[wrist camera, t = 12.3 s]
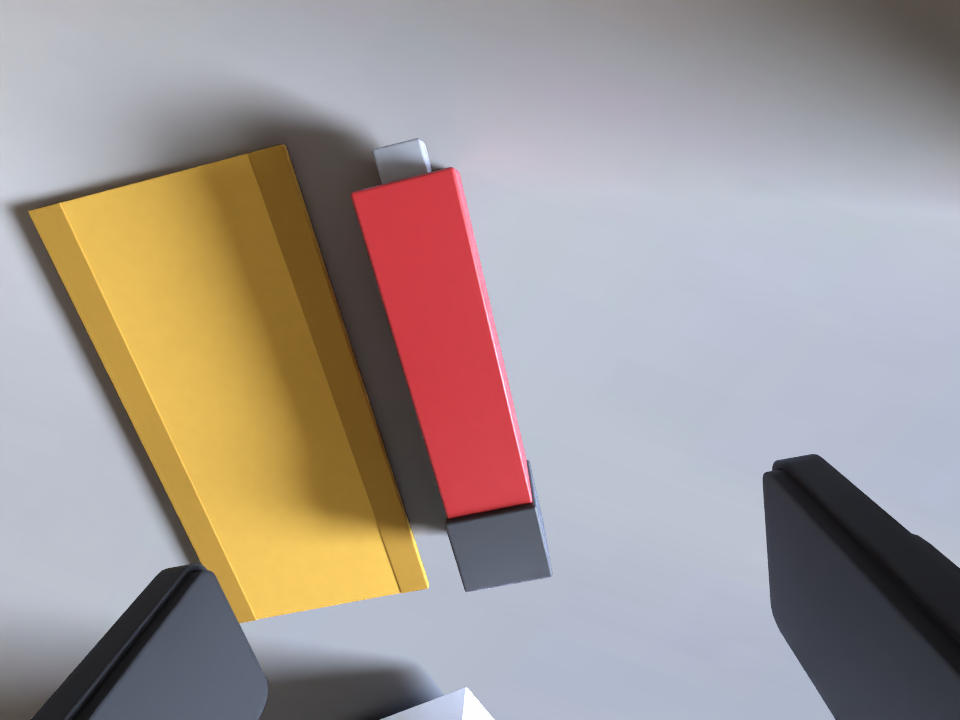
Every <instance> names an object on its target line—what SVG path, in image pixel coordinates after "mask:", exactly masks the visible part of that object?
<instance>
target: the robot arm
mask: <svg viewBox="0 0 960 720" xmlns="http://www.w3.org/2000/svg"><path fill="white" fill-rule="evenodd" d="M763 493H764V509H765V524H766V539H767V554H768V569H769V584H770V599H771V609H772V612H773V616H774V619H775V621H776V624H777V626H778V628H779V630H780V632H781V633H782V635H783V636H784V638H785V640H786V641H787V643H788V644H789V646H790V648H791V649H792V651H793V652H794V654H795V656H796V657H797V659H798V660H799V662H800V664H801V665H802V667H803V668H804V670H805V671H806V673H807V675H808V676H809V678H810V679H811V681H812V683H813V684H814V686H815V687H816V689H817V691H818V692H819V694H820V695H821V697H822V699H823V700H824V702H825V703H826V705H827V706H828V708H829V710H830V711H831V713H832V714H833V716H834V718H835V719H836V720H960V568H959V567H957V566H956V565H955V564H954V563H953V562H951V561H950V560H949V559H948V558H947V557H945V556H944V555H943V554H942V553H941V552H939V551H938V550H937V549H936V548H935V547H933V546H932V545H931V544H930V543H928V542H927V541H925V540H924V539H922V538H921V537H919V536H918V535H915V534H911V533H910V532H909V531H908V530H907V529H905V528H904V527H903V526H902V525H901V524H900V523H898V522H897V521H896V520H895V519H894V518H892V517H891V516H890V515H889V514H888V513H887V512H885V511H884V510H883V509H882V508H881V507H880V506H878V505H877V504H876V503H875V502H874V501H872V500H871V499H870V498H869V497H868V496H867V495H865V494H864V493H863V492H862V491H861V490H859V489H858V488H857V487H856V486H855V485H854V484H852V483H851V482H850V481H849V480H848V479H846V478H845V477H844V476H843V475H842V474H841V473H839V472H838V471H837V470H836V469H835V468H834V467H832V466H831V465H830V464H829V463H828V462H826V461H825V460H824V459H823V458H822V457H820V456H818V455H816V454H811V455H805V456H799V457H794V458H788V459H782V460H777V461H775V462H774V464H773V467H772V471H770V472H766V473H764V475H763ZM267 697H268V683H267V680H266V678H265V676H264V673H263V671H262V669H261V667H260V665H259V663H258V661H257V659H256V657H255V655H254V653H253V651H252V649H251V647H250V645H249V643H248V641H247V639H246V637H245V635H244V633H243V631H242V629H241V627H240V624H239V622H238V620H237V618H236V616H235V614H234V612H233V610H232V608H231V606H230V604H229V602H228V600H227V598H226V596H225V594H224V592H223V590H222V588H221V586H220V584H219V582H218V580H217V577H216V576H215V574H214V573H213V572H212V571H209V570H207V569H206V568H205V567H204V566H203V565H201V564H196V563H195V564H190V565H184V566H178V567H173V568H168V569H165V570H162V571H161V572H160V573H159V574H158V575H157V576H156V577H155V578H154V579H153V580H152V581H151V583H150V584H149V585H148V586H147V587H146V588H145V589H144V591H143V592H142V593H141V594H140V595H139V596H138V597H137V599H136V600H135V601H134V602H133V603H132V604H131V605H130V607H129V608H128V609H127V610H126V611H125V612H124V613H123V615H122V616H121V617H120V618H119V619H118V620H117V621H116V623H115V624H114V625H113V626H112V627H111V628H110V629H109V631H108V632H107V633H106V634H105V635H104V636H103V637H102V639H101V640H100V641H99V642H98V643H97V644H96V645H95V647H94V648H93V649H92V650H91V651H90V652H89V654H88V655H87V656H86V657H85V658H84V659H83V660H82V662H81V663H80V664H79V665H78V666H77V667H76V668H75V670H74V671H73V672H72V673H71V674H70V675H69V676H68V678H67V679H66V680H65V681H64V682H63V683H62V684H61V686H60V687H59V688H58V689H57V690H56V691H55V692H54V694H53V695H52V696H51V697H50V698H49V699H48V700H47V702H46V703H45V704H44V705H43V706H42V707H41V708H40V710H39V711H38V712H37V713H36V714H35V715H34V716H33V718H32V719H31V720H259V718H260V716H261V714H262V711H263V709H264V707H265V704H266V701H267Z"/></svg>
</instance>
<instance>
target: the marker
mask: <svg viewBox="0 0 960 720" xmlns="http://www.w3.org/2000/svg"><path fill="white" fill-rule="evenodd" d="M373 154H374V158H375V162H376V165H377V169H378V172H379V176H380V179H381V183H382V185H378V186H374V187H370V188H366V189H362V190H358V191H354V192H352V193H351V199H352V202H353V205H354V209H355V212H356V215H357V219H358V222H359V225H360V229H361V232H362V235H363V239H364V242H365V245H366V249H367V252H368V255H369V259H370V262H371V265H372V269H373V272H374V275H375V279H376V282H377V285H378V289H379V292H380V295H381V299H382V302H383V305H384V309H385V312H386V315H387V319H388V322H389V325H390V329H391V332H392V335H393V339H394V342H395V345H396V349H397V352H398V355H399V359H400V362H401V365H402V369H403V372H404V375H405V379H406V382H407V385H408V389H409V392H410V395H411V399H412V402H413V405H414V409H415V412H416V415H417V419H418V422H419V425H420V429H421V432H422V435H423V439H424V442H425V445H426V449H427V452H428V455H429V459H430V462H431V465H432V469H433V472H434V475H435V479H436V482H437V485H438V489H439V492H440V495H441V499H442V502H443V505H444V509H445V512H446V522H445V527H446V530H447V533H448V537H449V540H450V543H451V546H452V550H453V553H454V556H455V560H456V563H457V566H458V570H459V573H460V576H461V579H462V583H463V586H464V589H465V591H466V592H471V591H477V590H482V589H488V588H493V587H499V586H504V585H509V584H515V583H520V582H526V581H531V580H537V579H542V578H548V577H551V576H552V569H551V563H550V557H549V552H548V546H547V540H546V535H545V529H544V523H543V519H542V514H541V510H540V506H539V501H538V497H537V493H536V488H535V484H534V480H533V475H532V471H531V467H530V462H529V461H528V460H526V456H525V452H524V448H523V444H522V439H521V435H520V431H519V426H518V422H517V418H516V414H515V409H514V405H513V401H512V396H511V392H510V388H509V384H508V379H507V375H506V371H505V366H504V362H503V358H502V354H501V349H500V345H499V341H498V336H497V332H496V328H495V324H494V319H493V315H492V311H491V306H490V302H489V298H488V293H487V289H486V285H485V281H484V276H483V272H482V268H481V263H480V259H479V255H478V251H477V246H476V242H475V238H474V233H473V229H472V225H471V221H470V216H469V212H468V208H467V203H466V199H465V195H464V191H463V186H462V182H461V178H460V173H459V172H458V171H457V170H456V169H455V168H453V167H449V168H445V169H441V170H437V171H433V172H432V170H431V166H430V162H429V158H428V154H427V150H426V146H425V143H424V142H423V141H422V140H420V139H419V138H416V139H412V140H409V141H405V142H401V143H397V144H393V145H389V146H385V147H382V148H378V149H374V150H373Z"/></svg>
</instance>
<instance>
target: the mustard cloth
mask: <svg viewBox="0 0 960 720" xmlns="http://www.w3.org/2000/svg"><path fill="white" fill-rule="evenodd" d="M28 213H29V215H30V217H31V219H32V221H33V223H34V225H35V227H36V229H37V231H38V234H39V236H40V238H41V240H42V242H43V244H44V246H45V248H46V250H47V252H48V254H49V256H50V258H51V260H52V262H53V264H54V266H55V268H56V270H57V272H58V274H59V276H60V278H61V280H62V282H63V284H64V286H65V288H66V290H67V292H68V294H69V296H70V298H71V300H72V302H73V304H74V307H75V309H76V311H77V313H78V315H79V317H80V319H81V321H82V323H83V325H84V327H85V329H86V331H87V333H88V335H89V337H90V339H91V341H92V343H93V345H94V347H95V349H96V351H97V353H98V355H99V357H100V359H101V361H102V363H103V365H104V367H105V369H106V371H107V373H108V375H109V377H110V380H111V382H112V384H113V386H114V388H115V390H116V392H117V394H118V396H119V398H120V400H121V402H122V404H123V406H124V408H125V410H126V412H127V414H128V416H129V418H130V420H131V422H132V424H133V426H134V428H135V430H136V432H137V434H138V436H139V438H140V440H141V442H142V444H143V446H144V448H145V450H146V453H147V455H148V457H149V459H150V461H151V463H152V465H153V467H154V469H155V471H156V473H157V475H158V477H159V479H160V481H161V483H162V485H163V487H164V489H165V491H166V493H167V495H168V497H169V499H170V501H171V503H172V505H173V507H174V509H175V511H176V513H177V515H178V517H179V519H180V521H181V523H182V526H183V528H184V530H185V532H186V534H187V536H188V538H189V540H190V542H191V544H192V546H193V548H194V550H195V552H196V554H197V556H198V558H199V560H200V562H201V564H202V565H203V566H204V567H205V568H206V569H207V570H209V571H212V572H213V573H214V574H215V576H216V577H217V580H218V582H219V584H220V586H221V588H222V590H223V592H224V594H225V596H226V598H227V600H228V602H229V604H230V606H231V608H232V610H233V612H234V614H235V616H236V618H237V620H238V622H239V623H243V622H248V621H254V620H257V619H261V618H267V617H272V616H278V615H283V614H289V613H294V612H299V611H305V610H310V609H316V608H321V607H327V606H332V605H337V604H343V603H348V602H354V601H359V600H365V599H370V598H375V597H381V596H386V595H392V594H397V593H406V592H411V591H417V590H422V589H427V588H428V586H429V582H428V579H427V576H426V573H425V570H424V566H423V563H422V560H421V557H420V554H419V551H418V548H417V545H416V542H415V539H414V536H413V533H412V530H411V527H410V524H409V521H408V518H407V515H406V511H405V508H404V505H403V502H402V499H401V496H400V493H399V490H398V487H397V484H396V481H395V478H394V475H393V472H392V469H391V466H390V463H389V460H388V456H387V453H386V450H385V447H384V444H383V441H382V438H381V435H380V432H379V429H378V426H377V423H376V420H375V417H374V414H373V411H372V408H371V405H370V401H369V398H368V395H367V392H366V389H365V386H364V383H363V380H362V377H361V374H360V371H359V368H358V365H357V362H356V359H355V356H354V353H353V350H352V347H351V343H350V340H349V337H348V334H347V331H346V328H345V325H344V322H343V319H342V316H341V313H340V310H339V307H338V304H337V301H336V298H335V295H334V292H333V288H332V285H331V282H330V279H329V276H328V273H327V270H326V267H325V264H324V261H323V258H322V255H321V252H320V249H319V246H318V243H317V240H316V237H315V233H314V230H313V227H312V224H311V221H310V218H309V215H308V212H307V209H306V206H305V203H304V200H303V197H302V194H301V191H300V188H299V185H298V182H297V178H296V175H295V172H294V169H293V166H292V163H291V160H290V157H289V154H288V151H287V148H286V145H282V144H281V145H277V146H273V147H269V148H266V149H262V150H258V151H254V152H250V153H247V154H243V155H240V156H236V157H232V158H228V159H224V160H221V161H217V162H213V163H209V164H205V165H201V166H198V167H194V168H190V169H186V170H182V171H179V172H175V173H171V174H167V175H163V176H160V177H156V178H152V179H148V180H144V181H141V182H137V183H133V184H129V185H125V186H121V187H118V188H114V189H110V190H106V191H102V192H99V193H95V194H91V195H87V196H83V197H80V198H76V199H72V200H68V201H64V202H60V203H56V204H52V205H48V206H44V207H41V208H37V209H33V210H29V211H28Z"/></svg>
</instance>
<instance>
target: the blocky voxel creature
mask: <svg viewBox="0 0 960 720" xmlns="http://www.w3.org/2000/svg"><path fill="white" fill-rule="evenodd" d="M380 720H494V719H493V718H492V717H491V716H490V714H489V713H488V712H487V711H486V710H485V709H484V707H483V706H482V705H481V704H480V703H479V701H478V700H477V699H476V698H475V697H474V696H473V694H472V693H471V692H470V691H469V690H468V689H467V687H465V688H462V689H459V690H457V691H454V692H452V693H449V694H446V695H444V696H441V697H438V698H436V699H433V700H430V701H428V702H425V703H423V704H420V705H417V706H415V707H412V708H409V709H407V710H404V711H401V712H399V713H396V714H394V715H391V716H388V717H386V718H383V719H380Z"/></svg>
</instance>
